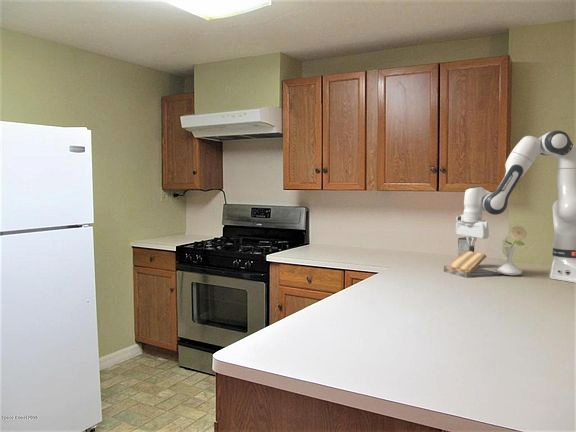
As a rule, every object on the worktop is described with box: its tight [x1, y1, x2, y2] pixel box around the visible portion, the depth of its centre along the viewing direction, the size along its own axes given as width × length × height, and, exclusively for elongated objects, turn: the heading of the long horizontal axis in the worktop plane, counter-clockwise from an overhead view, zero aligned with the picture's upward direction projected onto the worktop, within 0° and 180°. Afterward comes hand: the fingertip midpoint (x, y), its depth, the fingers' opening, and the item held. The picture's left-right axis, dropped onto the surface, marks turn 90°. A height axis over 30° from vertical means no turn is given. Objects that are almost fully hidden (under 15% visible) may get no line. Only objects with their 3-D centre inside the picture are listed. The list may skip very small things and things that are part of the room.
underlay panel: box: [443, 265, 499, 278], centre depth 240 cm, size 17×19×3 cm
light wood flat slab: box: [449, 250, 487, 273], centre depth 239 cm, size 15×12×2 cm
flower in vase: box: [496, 225, 528, 276], centre depth 236 cm, size 13×11×25 cm
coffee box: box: [457, 236, 475, 257], centre depth 260 cm, size 9×6×16 cm
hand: (471, 245), depth 239 cm, fingers closed
